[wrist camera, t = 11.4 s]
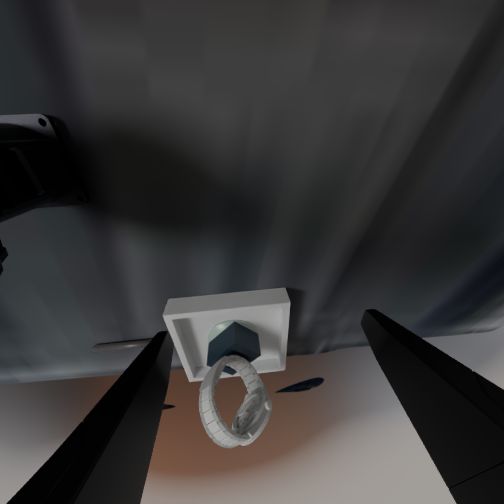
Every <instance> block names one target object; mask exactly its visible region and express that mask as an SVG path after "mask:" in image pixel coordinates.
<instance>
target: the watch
mask: <svg viewBox="0 0 504 504" xmlns="http://www.w3.org/2000/svg"><path fill="white" fill-rule="evenodd" d="M260 356H261V350H260V343H259V336H258V334H257V333H256V332H254V331H252V330H250V329H248V328H246V327H244V326H242V325H240V324H239V323H237V322H235V321H234V322H233V323H232V324H231V325H229V326H228V327H227V328H226V329H225V330H224V331H222V332H221V333H220V334H219V335H218V336H216V337H215V338H214V339H213V340H212V341H210V342H209V344H208V354H207V364H206V365H207V366H209V367H211V368H210V370H209V371H208V373H207V374H206V376H205V378H204V380H203V382H202V384H201V387H200V390H199V392H200V396H199V397H200V399H199V407H200V408H199V410H200V416H201V418H203V419H202V423H203V425H204V428H205V429H206V432H207V433H208V435H209V436H210V438H212V440H213V441H214V442H215V443H216V444H218V445H220V446H222V447H225V448H226V447H227V448H233V447H235V446H237V445H239V444H241V445H242V446H245V445H248V444H250V443H252V442H253V441H254V440H255V439H256V438H257V437H258V436H259V435H260V433H261V432H262V430H263V429H264V428H265V425H266V424H267V422H268V419H269V417H270V414H271V410H272V402H271V400H270V399H269V398H268V394H267V390H266V387H265V385H264V384H263V383H262V381H261V380H260V379H261V378H260V377H259V375H258V373H257V371H256V370H255V368H254V367H253V366H252V365H251V362H252V361H254V360H255V359H257V358H258V357H260ZM222 372H225V373H228V374H230V375H234V374H235V373H237V372H238V374H240V376H241V377H242V379H243V380H245V379H246V380H245V381H244V383H245V385H246V387H247V388H248V387H249V388H248V389H247V390H248V394H249V395H248V394H247V395H246V396H245V400H244V402H243V404H242V405H241V406H240V408H239V410H238V411H237V413H236V416H235V418H234V421H233V425H232V430H231V429H230V428H227V425H226V423H225V422H224V421H223V420H221V416H220V414H219V412H218V410H216V404H215V400H214V399H213V398H214V393H215V388H216V384H217V383H218V381H219V378H220V376H221V373H222ZM249 373H250V374H249ZM254 373H255V374H254ZM246 375H247V376H246ZM255 379H256V380H255ZM252 381H253V382H252ZM207 410H208V411H207ZM214 410H215V411H214ZM214 419H215V420H214ZM211 421H212V422H211Z"/></svg>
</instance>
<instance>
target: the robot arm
mask: <svg viewBox="0 0 504 504" xmlns="http://www.w3.org/2000/svg"><path fill="white" fill-rule="evenodd" d="M43 119H44V120H45V121H46V123H47V125H44V123H43V121H42V120H43ZM80 196H82V197H83V198H84V200H82V199H81V198H80ZM89 200H90V198H89V195H88V193H87V191H86V189H85V187H84V185H83V183H82V181H81V177H80V175H79V172H78V170H77V168H76V166H75V164H74V162H73V160H72V158H71V155H70V153H69V151H68V149H67V147H66V146H65V145H64V142H63V140H62V138H61V136H60V134H59V132H58V130H57V128H56V126H55V123H54V122H53V120H52V119H51V118H50V117H49V116H47V115H45V114H22V115H0V223H1V222H3V221H6V220H8V219H11V218H13V217H16V216H18V215H20V214H23V213H25V212H28V211H30V210H33V209H35V208H38V207H53V206H67V205H81V204H86V203H88V202H89ZM7 256H8V253H7V250H6V248H5V247H3V246H2V243H1V240H0V275H1V273H2V271H3V267H2V262H3V261H4V260H5V259H6V257H7ZM361 326H362V328H363V331H364V333H365V335H366V337H367V340H368V342H369V344H370V346H371V349H372V351H373V353H374V355H375V357H376V360H377V361H378V363H379V365H380V367H381V369H382V370H383V372H384V374H385V376H386V378H387V379H388V381H389V383H390V385H391V387H392V388H393V390H394V392H395V394H396V395H397V397H398V399H399V401H400V403H401V405H402V406H403V408H404V410H405V412H406V414H407V415H408V417H409V418H410V421H411V422H412V424H413V426H414V428H415V430H416V431H417V433H418V435H419V437H420V439H421V440H422V442H423V444H424V445H425V448H426V449H427V451H428V453H429V455H430V457H431V458H432V460H433V462H434V464H435V465H436V467H437V469H438V471H439V472H440V474H441V476H442V478H443V480H444V482H445V483H446V485H447V487H448V488H449V491H450V493H451V494H452V496H453V498H454V500H455V502H456V503H457V504H504V390H503V389H502V388H500V387H498V386H497V385H495V384H494V383H492V382H490V381H489V380H487V379H485V378H484V377H482V376H481V375H479V374H478V373H476V372H474V371H472V370H471V369H470V368H468V367H466V366H464V365H463V364H462V363H460V362H458V361H457V360H455V359H454V358H452V357H450V356H449V355H447V354H445V353H444V352H442V351H441V350H439V349H438V348H436V347H435V346H433V345H431V344H430V343H428V342H427V341H425V340H423V339H422V338H420V337H419V336H417V335H416V334H414V333H412V332H411V331H409V330H408V329H406V328H404V327H403V326H401V325H400V324H398V323H397V322H395V321H393V320H392V319H390V318H389V317H387V316H385V315H384V314H382V313H381V312H379V311H377V310H375V309H368V310H365V312H364V314H363V317H362V320H361ZM173 346H174V345H173V340H172V338H171V335H170V333H169V332H168V331H161V332H158V333H157V334H156V335H155V336H154V338H153V339H152V340H151V341H150V342H149V343H148V345H147V346H146V347H145V348H144V349H143V350H142V352H141V353H140V354H139V355H138V356H137V357H136V359H135V360H134V361H133V362H132V363H131V364H130V366H129V367H128V368H127V369H126V370H125V371H124V373H123V374H122V375H121V376H120V377H119V378H118V380H117V381H116V382H115V383H114V385H113V386H112V387H111V388H110V389H109V390H108V391H107V393H106V394H105V395H104V396H103V397H102V398H101V400H100V401H99V402H98V403H97V404H96V405H95V407H94V408H93V409H92V410H91V411H90V412H89V414H88V415H87V416H86V417H85V418H84V420H83V422H81V423H80V424H79V425H78V426H77V427H76V429H75V430H74V431H73V432H72V433H71V434H70V436H69V437H68V438H67V439H66V440H65V441H64V442H63V444H62V445H61V446H60V447H59V448H58V449H57V450H56V452H55V453H54V454H53V455H52V456H51V457H50V458H49V460H47V461H46V462H45V463H44V465H43V466H42V467H41V468H40V469H39V470H38V471H37V472H36V473H35V474H34V475H33V476H32V477H31V479H29V481H28V482H27V483H26V484H25V485H24V486H23V487H22V488H21V489H20V490H19V491H18V492H17V493H16V494H15V495H14V496H13V497H12V498H11V499H10V500H9V501H8V502H7V504H140V502H141V497H142V493H143V489H144V485H145V481H146V477H147V473H148V468H149V464H150V460H151V456H152V452H153V447H154V443H155V439H156V435H157V431H158V426H159V422H160V418H161V414H162V410H163V406H164V401H165V397H166V393H167V389H168V384H169V377H170V370H171V362H172V355H173Z"/></svg>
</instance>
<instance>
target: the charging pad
mask: <svg viewBox="0 0 504 504" xmlns="http://www.w3.org/2000/svg"><path fill="white" fill-rule="evenodd" d="M289 314H290V300H289V297H288V294H287V291H286V288H274V289H264V290H254V291H244V292H234V293H224V294H214V295H204V296H194V297H183V298H173V299H168V302H167V305H166V308H165V310H164V313H163V318H164V320H165V323H166V325H167V328H168V330H169V332H170V335H171V338H172V340H173V344H174V345H175V347H176V350H177V352H178V355H179V357H180V360H181V362H182V365H183V367H184V369H185V372H186V374H187V377H188V379H189V381H190V382H192V381H201V380H204V378H205V376H206V374H207V373H208V371H209V370H210V368H211V367H209V366H207V365H206V364H207V354H208V344H209V342H210V341H212V340H213V339H214V338H215V337H216V336H218V335H219V334H220V333H221V332H222V331H224V330H225V329H226V328H227V327H228V326H229V325H231V324H232V323H233V322H234V321H235V322H237V323H239V324H240V325H242V326H244V327H246V328H248V329H250V330H252V331H254V332H256V333H257V334H258V336H259V343H260V350H261V356H260V357H258V358H257V359H255V360H254V361H252V362H251V365H252V366H253V367H254V368H255V370H256V371H257V373H266V372H274V371H282V370H285V364H286V352H287V339H288V327H289ZM151 340H152V339H145V340H136V341H127V342H118V343H109V344H100V345H95V346H93V347H92V349H91V351H92V352H93V353H99V352H108V351H117V350H126V349H135V348H143V347H146V346H147V345H148V343H149V342H150V341H151ZM249 374H250V373H249ZM254 374H255V373H254ZM234 376H240V374H238V372H237V373H235V374H234V375H230V374H228V373H225V372H222V373H221V376H220V378H225V377H234Z"/></svg>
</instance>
